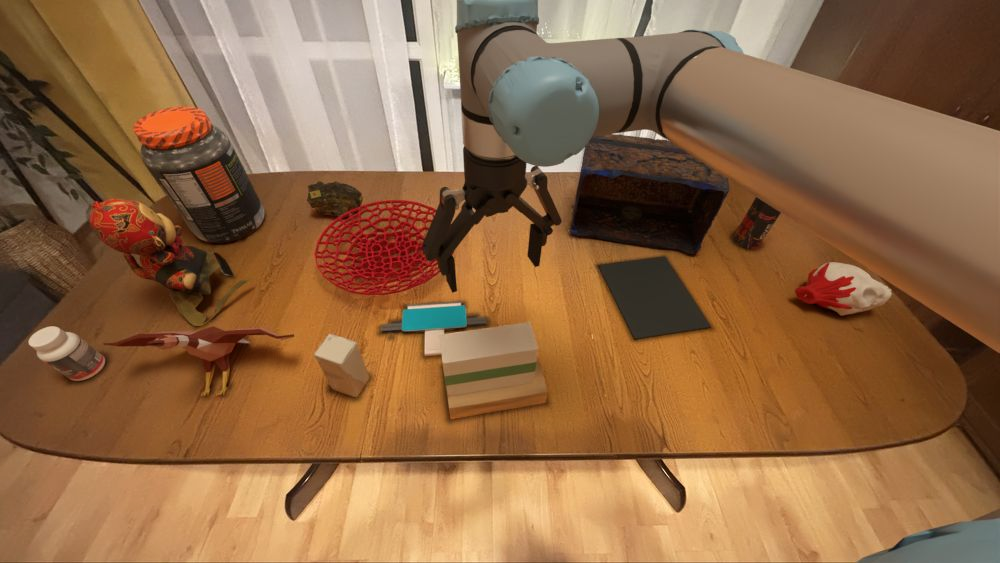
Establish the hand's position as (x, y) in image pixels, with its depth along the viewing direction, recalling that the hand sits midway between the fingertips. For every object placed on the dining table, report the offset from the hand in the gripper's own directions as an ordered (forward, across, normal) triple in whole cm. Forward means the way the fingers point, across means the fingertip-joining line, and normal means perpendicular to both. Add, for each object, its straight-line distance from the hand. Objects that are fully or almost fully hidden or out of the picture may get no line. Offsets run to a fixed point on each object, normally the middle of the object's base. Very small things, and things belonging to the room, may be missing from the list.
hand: (493, 273), depth 64 cm
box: (+19, +26, -2) cm, 32 cm away
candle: (+19, -68, +17) cm, 72 cm away
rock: (+19, +19, -51) cm, 58 cm away
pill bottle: (+19, +67, -23) cm, 73 cm away
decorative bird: (+19, +45, -14) cm, 51 cm away
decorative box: (+19, -45, -19) cm, 52 cm away
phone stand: (+19, +9, -8) cm, 22 cm away
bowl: (+19, +12, -30) cm, 37 cm away
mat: (+19, -35, +2) cm, 40 cm away
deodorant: (+19, -67, -3) cm, 70 cm away
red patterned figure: (+19, +49, -33) cm, 62 cm away
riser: (+19, +3, +8) cm, 21 cm away
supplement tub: (+19, +44, -56) cm, 73 cm away
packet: (+10, +4, +8) cm, 14 cm away
